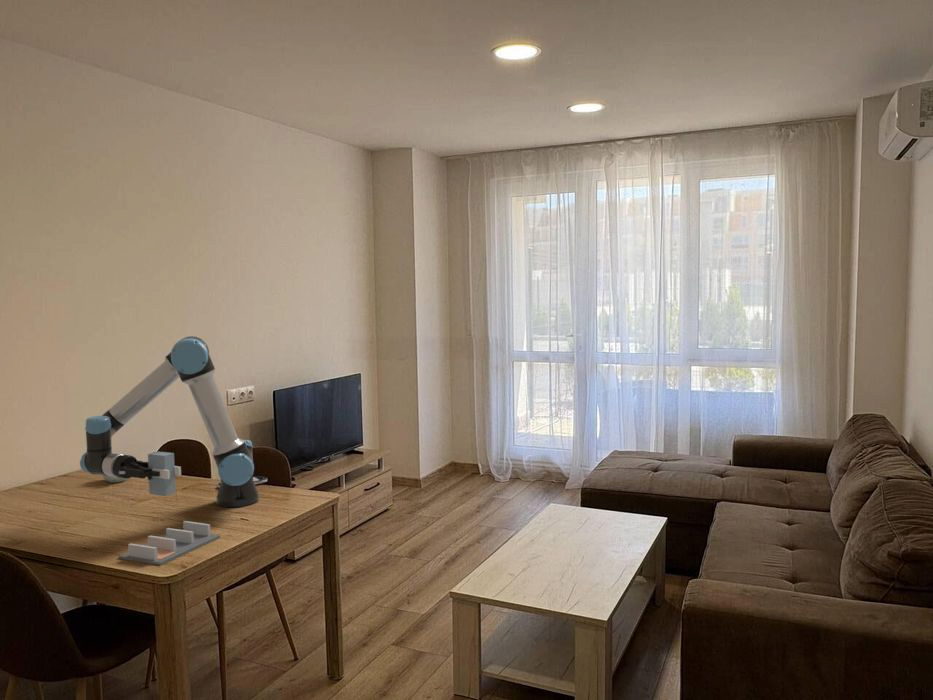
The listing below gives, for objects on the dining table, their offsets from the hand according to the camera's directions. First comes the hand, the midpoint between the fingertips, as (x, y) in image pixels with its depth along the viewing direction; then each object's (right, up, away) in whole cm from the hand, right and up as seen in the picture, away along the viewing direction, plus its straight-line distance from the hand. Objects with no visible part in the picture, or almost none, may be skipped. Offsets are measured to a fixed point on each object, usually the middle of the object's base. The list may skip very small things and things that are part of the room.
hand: (174, 472), depth 232 cm
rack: (+2, -22, -8) cm, 23 cm away
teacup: (-52, -16, +71) cm, 90 cm away
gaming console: (+2, -16, +64) cm, 66 cm away
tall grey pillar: (-5, -7, +3) cm, 9 cm away
